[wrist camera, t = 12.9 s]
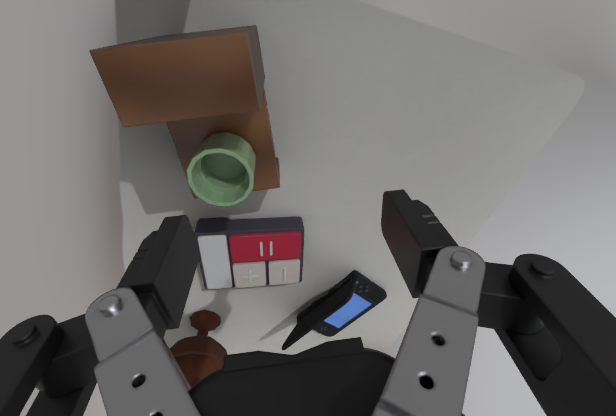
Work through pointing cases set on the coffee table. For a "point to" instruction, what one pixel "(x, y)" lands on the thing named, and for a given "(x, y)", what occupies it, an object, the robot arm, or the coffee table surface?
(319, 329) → the game console
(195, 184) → the bowl
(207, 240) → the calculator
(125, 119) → the shelf
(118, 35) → the coffee table surface
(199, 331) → the ice cream bowl
